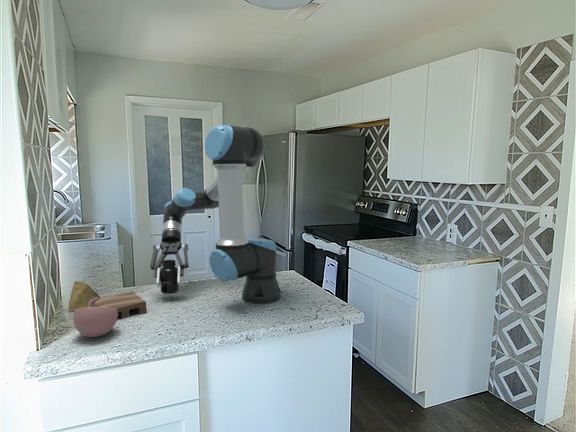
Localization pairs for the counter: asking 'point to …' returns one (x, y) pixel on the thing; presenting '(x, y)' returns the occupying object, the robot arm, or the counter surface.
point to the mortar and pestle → (94, 319)
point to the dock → (123, 303)
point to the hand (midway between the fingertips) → (168, 283)
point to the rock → (81, 296)
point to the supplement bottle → (169, 277)
